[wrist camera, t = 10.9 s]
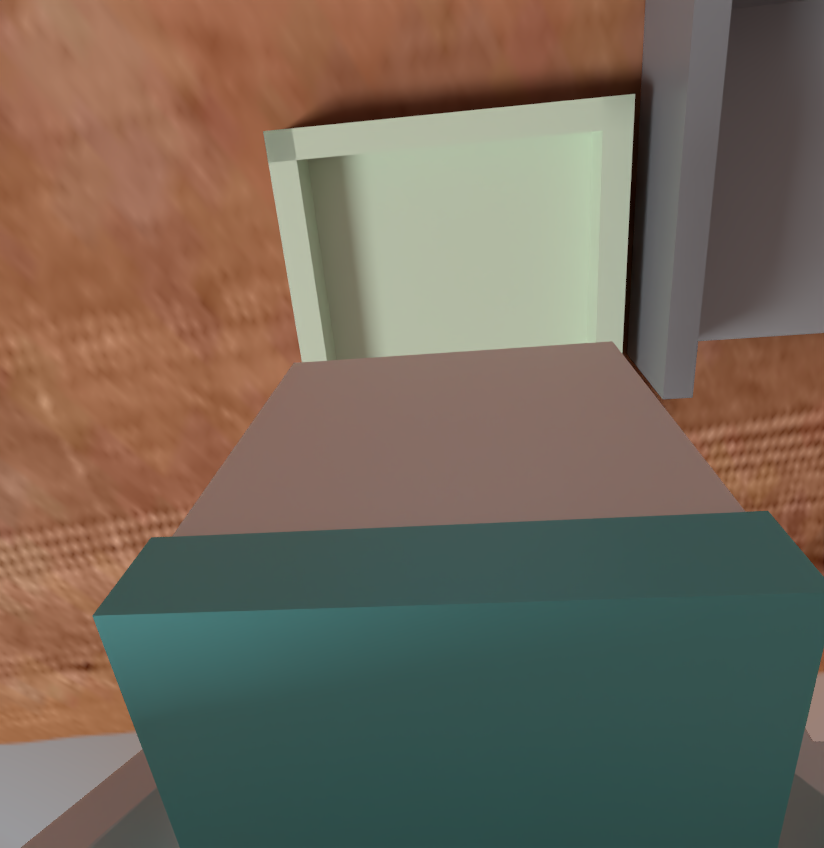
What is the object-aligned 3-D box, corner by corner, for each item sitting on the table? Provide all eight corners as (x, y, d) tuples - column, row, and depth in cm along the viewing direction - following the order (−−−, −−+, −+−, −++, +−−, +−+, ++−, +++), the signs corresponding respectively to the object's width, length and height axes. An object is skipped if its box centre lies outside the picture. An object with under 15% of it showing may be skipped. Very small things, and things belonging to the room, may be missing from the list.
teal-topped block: (619, 334, 10) (836, 592, 4) (600, 754, 13) (701, 1178, 8) (286, 357, 10) (93, 614, 5) (358, 757, 14) (296, 1158, 8)
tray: (617, 97, 23) (635, 93, 20) (602, 492, 29) (614, 521, 27) (280, 131, 24) (262, 131, 22) (339, 504, 31) (331, 532, 28)
